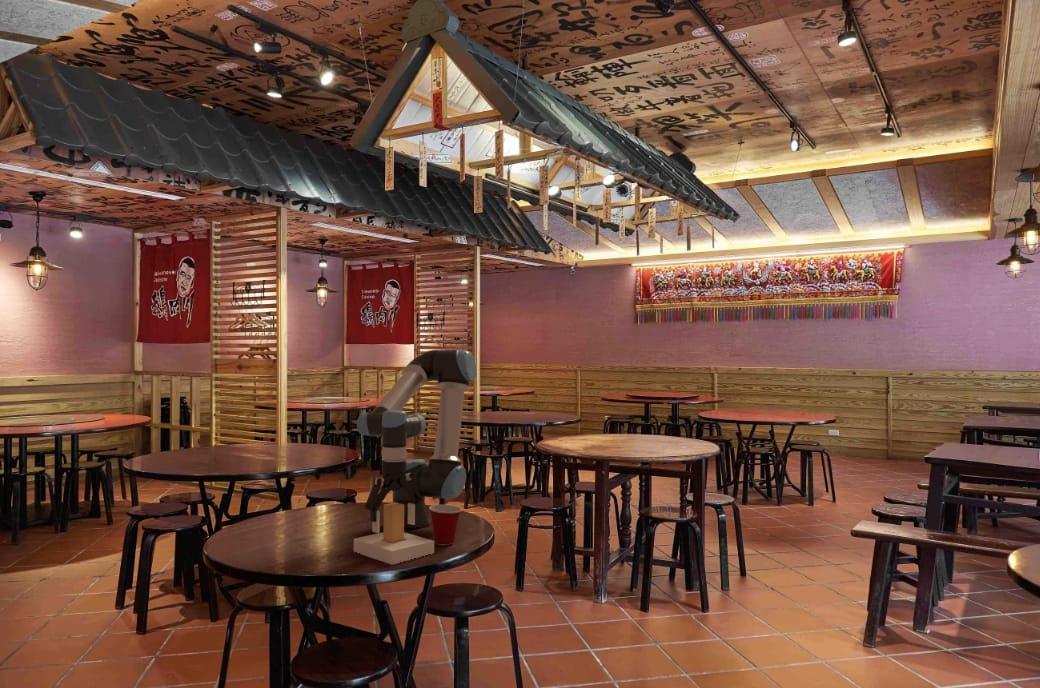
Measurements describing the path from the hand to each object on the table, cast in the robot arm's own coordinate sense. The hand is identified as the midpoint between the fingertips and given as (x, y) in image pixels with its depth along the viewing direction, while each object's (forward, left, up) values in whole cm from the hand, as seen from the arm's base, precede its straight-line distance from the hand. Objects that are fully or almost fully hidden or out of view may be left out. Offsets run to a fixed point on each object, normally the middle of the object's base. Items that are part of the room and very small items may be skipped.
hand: (393, 528), depth 222 cm
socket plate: (0, 0, -8) cm, 8 cm away
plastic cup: (-18, +4, -8) cm, 20 cm away
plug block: (0, 0, -8) cm, 8 cm away
